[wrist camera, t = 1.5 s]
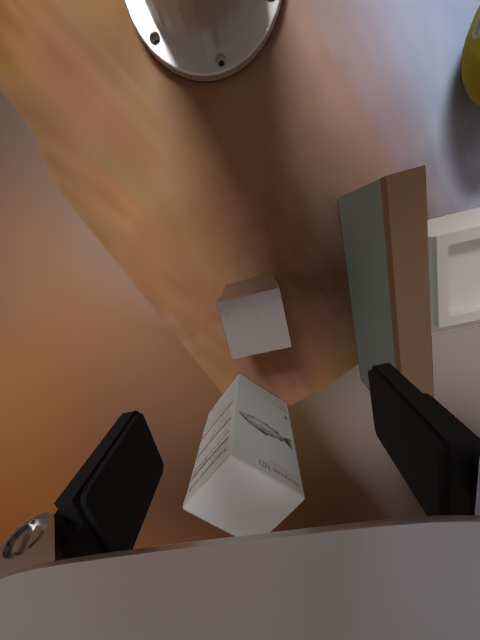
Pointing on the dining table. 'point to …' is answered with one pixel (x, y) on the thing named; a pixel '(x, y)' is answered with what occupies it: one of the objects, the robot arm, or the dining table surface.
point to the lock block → (253, 316)
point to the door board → (390, 275)
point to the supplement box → (246, 463)
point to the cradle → (454, 271)
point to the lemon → (472, 61)
